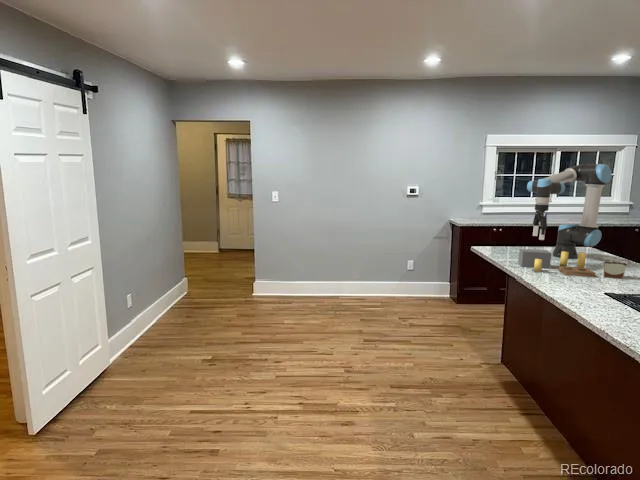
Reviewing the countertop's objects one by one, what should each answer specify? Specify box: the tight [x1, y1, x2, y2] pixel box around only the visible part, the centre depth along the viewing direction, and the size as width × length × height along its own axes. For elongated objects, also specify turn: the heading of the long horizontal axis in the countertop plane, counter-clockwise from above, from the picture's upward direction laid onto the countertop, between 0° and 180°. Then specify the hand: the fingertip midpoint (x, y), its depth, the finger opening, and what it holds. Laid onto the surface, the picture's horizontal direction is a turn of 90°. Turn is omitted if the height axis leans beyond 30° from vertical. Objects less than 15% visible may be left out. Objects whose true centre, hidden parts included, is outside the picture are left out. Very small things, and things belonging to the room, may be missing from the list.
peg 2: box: [576, 251, 587, 268], centre depth 265 cm, size 4×4×10 cm
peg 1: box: [559, 251, 569, 267], centre depth 267 cm, size 4×4×10 cm
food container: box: [602, 258, 629, 280], centre depth 246 cm, size 12×6×10 cm, turn 71°
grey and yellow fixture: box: [531, 259, 558, 274], centre depth 256 cm, size 5×13×7 cm, turn 79°
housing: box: [517, 248, 553, 270], centre depth 269 cm, size 8×16×10 cm, turn 79°
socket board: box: [557, 265, 596, 278], centre depth 253 cm, size 12×16×2 cm
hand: (538, 237), depth 266 cm, fingers open, 13 cm apart
